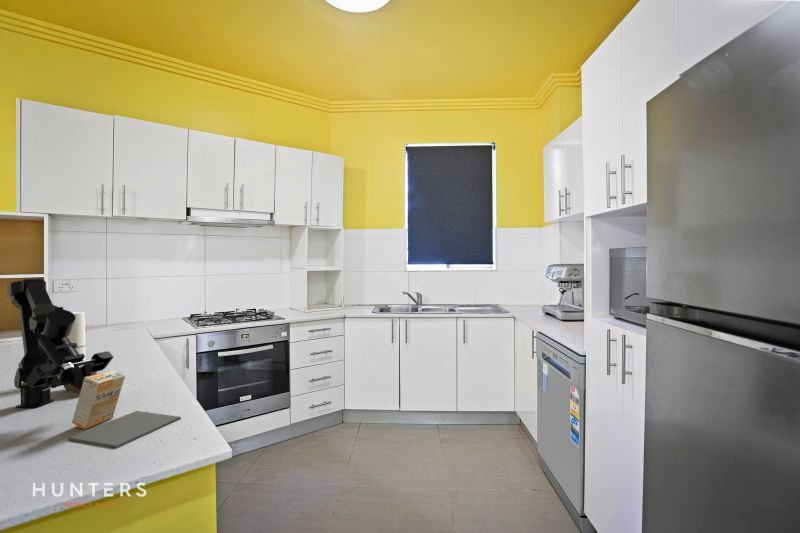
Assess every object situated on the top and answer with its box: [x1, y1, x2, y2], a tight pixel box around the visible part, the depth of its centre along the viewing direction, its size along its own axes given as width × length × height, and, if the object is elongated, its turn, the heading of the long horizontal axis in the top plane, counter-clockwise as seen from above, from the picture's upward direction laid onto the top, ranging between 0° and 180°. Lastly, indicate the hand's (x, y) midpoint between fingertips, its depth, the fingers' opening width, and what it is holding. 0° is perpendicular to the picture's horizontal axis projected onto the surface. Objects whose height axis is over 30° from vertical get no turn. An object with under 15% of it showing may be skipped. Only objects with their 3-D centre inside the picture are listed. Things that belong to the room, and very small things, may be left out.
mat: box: [67, 410, 182, 449], centre depth 104 cm, size 16×18×1 cm
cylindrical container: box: [67, 311, 87, 361], centre depth 148 cm, size 7×7×25 cm
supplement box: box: [71, 369, 126, 430], centre depth 107 cm, size 8×5×13 cm, turn 168°
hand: (89, 391), depth 107 cm, fingers closed
